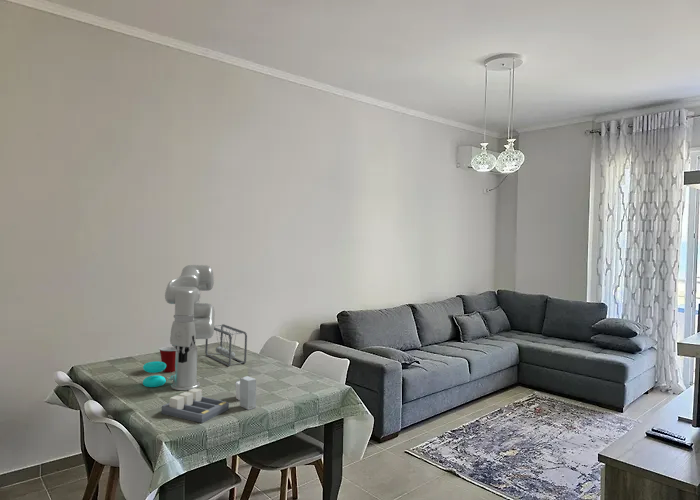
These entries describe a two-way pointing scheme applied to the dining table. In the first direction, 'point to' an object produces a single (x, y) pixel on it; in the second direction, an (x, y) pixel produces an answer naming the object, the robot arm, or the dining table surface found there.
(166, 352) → the plastic cup
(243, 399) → the skincare box
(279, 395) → the dining table surface
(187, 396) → the tab middle
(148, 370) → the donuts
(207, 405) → the switch bank
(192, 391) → the tab inner
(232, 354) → the newton's cradle
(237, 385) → the grey cylinder
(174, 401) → the white cube
